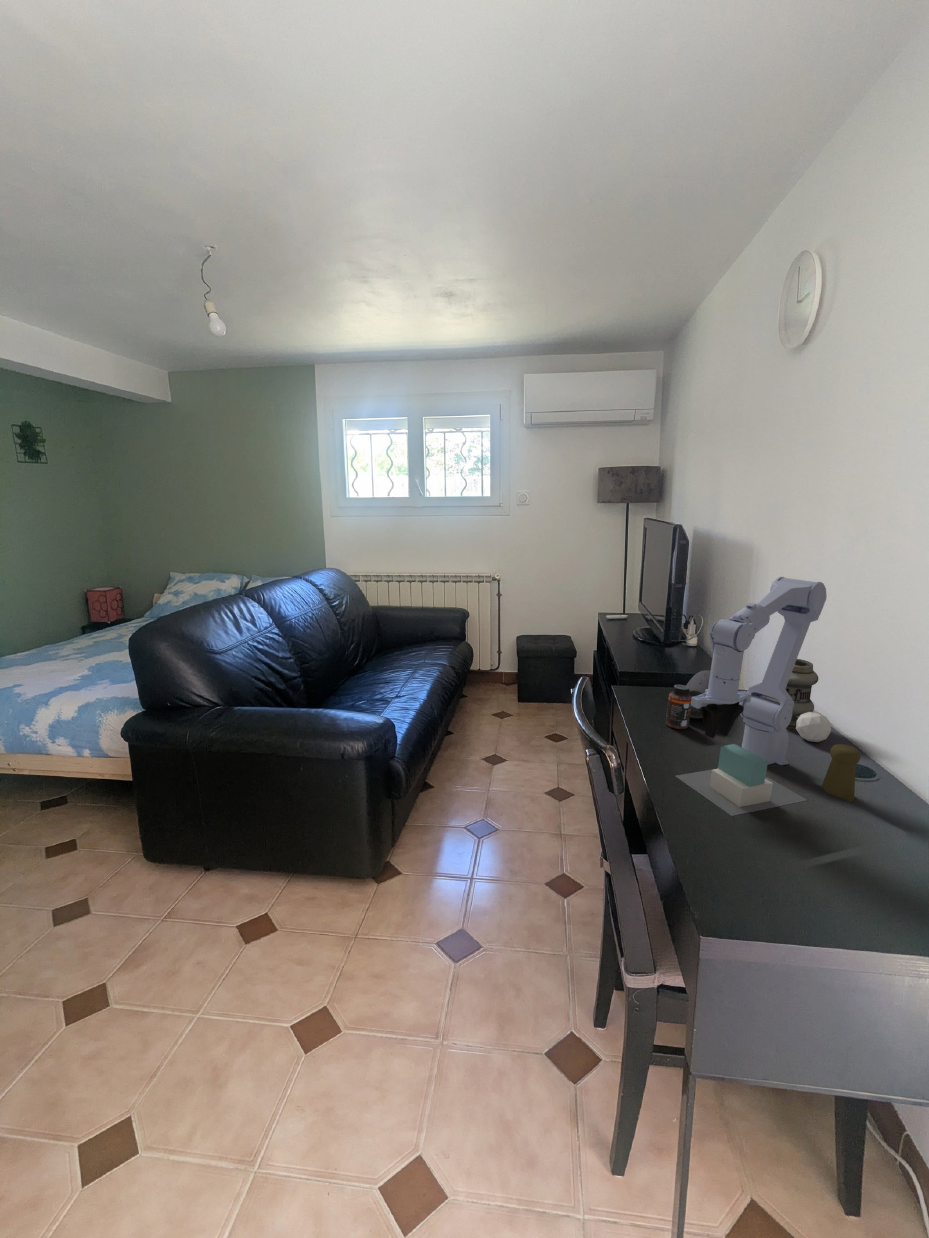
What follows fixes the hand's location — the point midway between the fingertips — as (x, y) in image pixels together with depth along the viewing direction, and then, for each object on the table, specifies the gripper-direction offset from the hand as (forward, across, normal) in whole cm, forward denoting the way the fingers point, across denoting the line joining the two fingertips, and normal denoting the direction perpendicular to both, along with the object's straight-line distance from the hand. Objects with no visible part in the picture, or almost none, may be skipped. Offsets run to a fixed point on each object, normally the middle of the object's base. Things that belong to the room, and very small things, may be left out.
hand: (716, 735), depth 117 cm
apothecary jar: (+11, -46, -20) cm, 51 cm away
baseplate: (+10, -2, +6) cm, 12 cm away
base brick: (+10, 0, +8) cm, 12 cm away
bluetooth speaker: (+11, -28, -34) cm, 45 cm away
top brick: (+6, 0, +8) cm, 9 cm away
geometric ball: (+11, -42, -9) cm, 44 cm away
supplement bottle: (+11, -13, -26) cm, 31 cm away
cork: (+11, -22, +13) cm, 28 cm away
